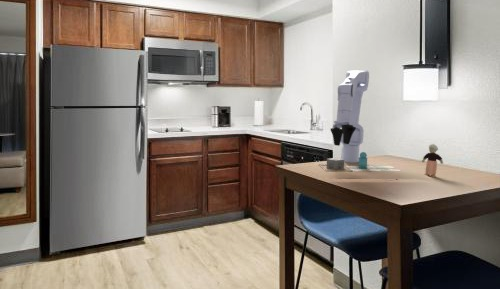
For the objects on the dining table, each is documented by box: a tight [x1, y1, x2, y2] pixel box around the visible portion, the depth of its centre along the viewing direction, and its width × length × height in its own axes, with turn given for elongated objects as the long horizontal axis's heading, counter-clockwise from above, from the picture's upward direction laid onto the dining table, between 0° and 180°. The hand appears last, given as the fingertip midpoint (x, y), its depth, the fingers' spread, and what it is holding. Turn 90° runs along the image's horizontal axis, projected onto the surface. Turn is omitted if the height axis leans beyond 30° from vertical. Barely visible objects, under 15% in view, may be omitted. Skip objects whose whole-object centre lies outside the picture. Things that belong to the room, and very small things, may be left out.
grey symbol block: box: [326, 157, 345, 170], centre depth 161 cm, size 5×5×5 cm
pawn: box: [357, 151, 368, 169], centre depth 161 cm, size 3×3×7 cm
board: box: [318, 164, 401, 172], centre depth 161 cm, size 14×31×1 cm, turn 91°
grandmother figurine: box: [421, 143, 444, 178], centre depth 151 cm, size 8×4×13 cm, turn 62°
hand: (341, 144), depth 159 cm, fingers open, 7 cm apart
